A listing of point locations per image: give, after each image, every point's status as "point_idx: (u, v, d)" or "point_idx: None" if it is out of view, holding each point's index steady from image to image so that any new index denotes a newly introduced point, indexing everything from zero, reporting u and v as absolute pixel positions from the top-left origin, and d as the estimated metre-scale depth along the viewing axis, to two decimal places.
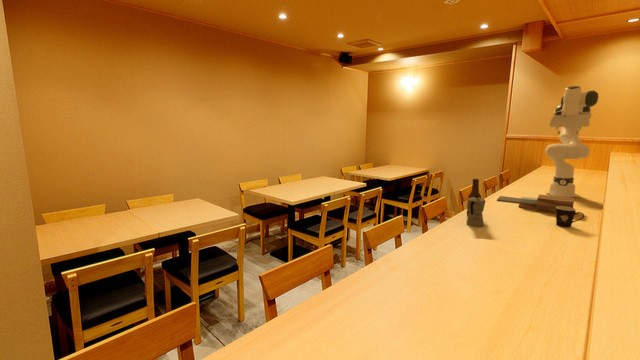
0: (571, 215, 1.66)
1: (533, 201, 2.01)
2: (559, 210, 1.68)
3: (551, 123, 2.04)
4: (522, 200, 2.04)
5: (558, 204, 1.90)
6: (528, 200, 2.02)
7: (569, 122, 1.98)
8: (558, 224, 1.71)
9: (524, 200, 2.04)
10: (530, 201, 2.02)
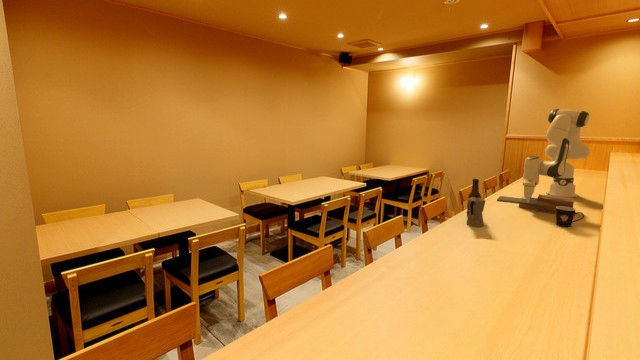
0: (571, 215, 1.66)
1: (533, 201, 2.01)
2: (559, 210, 1.68)
3: (531, 194, 1.95)
4: (522, 200, 2.04)
5: (558, 204, 1.90)
6: None
7: (532, 190, 2.02)
8: (558, 224, 1.71)
9: (524, 200, 2.04)
10: (530, 201, 2.02)
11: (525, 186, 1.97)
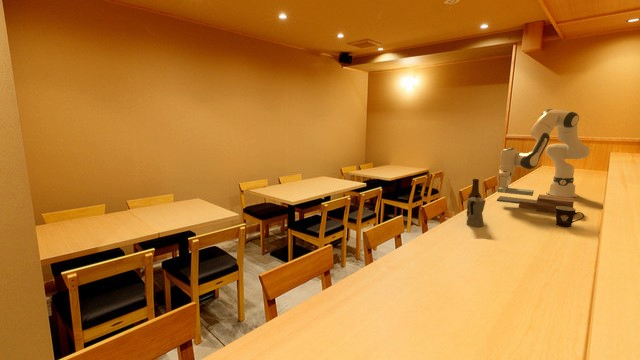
0: (571, 215, 1.66)
1: (509, 191, 2.09)
2: (559, 210, 1.68)
3: (506, 184, 2.04)
4: (499, 190, 2.13)
5: (558, 204, 1.90)
6: None
7: (508, 181, 2.11)
8: (558, 224, 1.71)
9: (500, 190, 2.12)
10: (506, 191, 2.10)
11: (500, 176, 2.05)
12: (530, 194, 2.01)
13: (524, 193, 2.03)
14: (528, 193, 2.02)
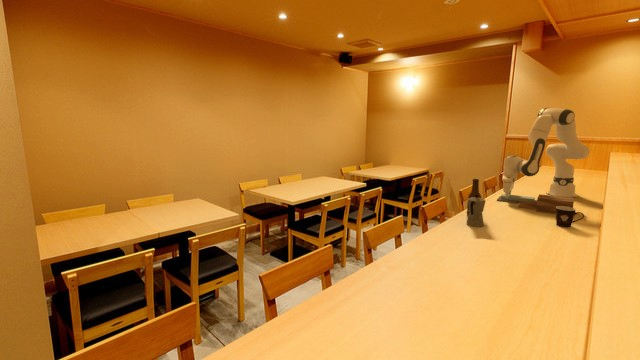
0: (571, 215, 1.66)
1: (511, 198, 2.21)
2: (559, 210, 1.68)
3: (509, 189, 2.16)
4: (502, 197, 2.25)
5: (558, 204, 1.90)
6: None
7: (511, 186, 2.23)
8: (558, 224, 1.71)
9: (503, 197, 2.24)
10: (509, 198, 2.22)
11: (504, 182, 2.18)
12: (531, 201, 2.14)
13: (526, 200, 2.16)
14: (530, 200, 2.14)
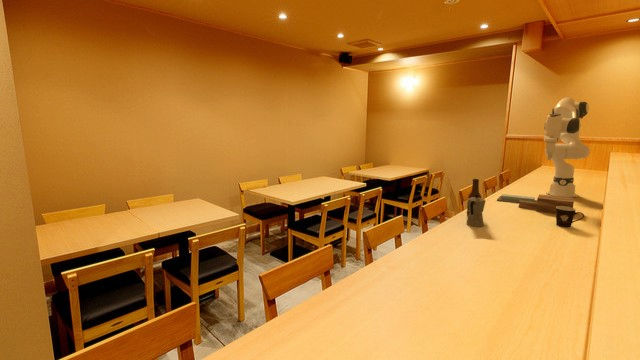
0: (571, 215, 1.66)
1: (511, 198, 2.21)
2: (559, 210, 1.68)
3: (553, 150, 1.99)
4: (502, 197, 2.25)
5: (558, 204, 1.90)
6: (507, 197, 2.23)
7: None
8: (558, 224, 1.71)
9: (503, 197, 2.24)
10: (509, 198, 2.22)
11: (547, 142, 2.01)
12: (531, 201, 2.14)
13: (526, 200, 2.16)
14: (530, 200, 2.14)
